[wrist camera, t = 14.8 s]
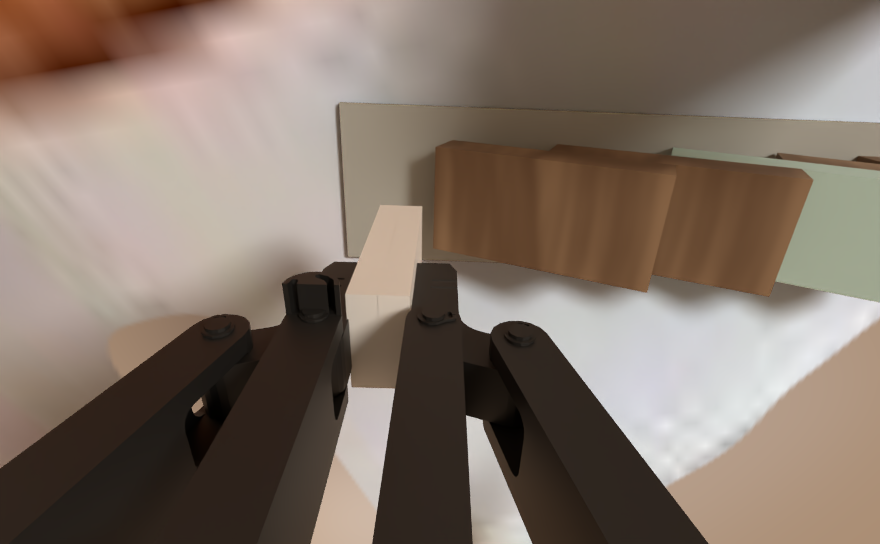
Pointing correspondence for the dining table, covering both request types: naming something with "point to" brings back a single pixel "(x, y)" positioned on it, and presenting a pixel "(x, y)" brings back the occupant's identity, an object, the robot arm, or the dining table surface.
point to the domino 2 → (723, 219)
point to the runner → (545, 148)
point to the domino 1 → (552, 210)
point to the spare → (828, 227)
